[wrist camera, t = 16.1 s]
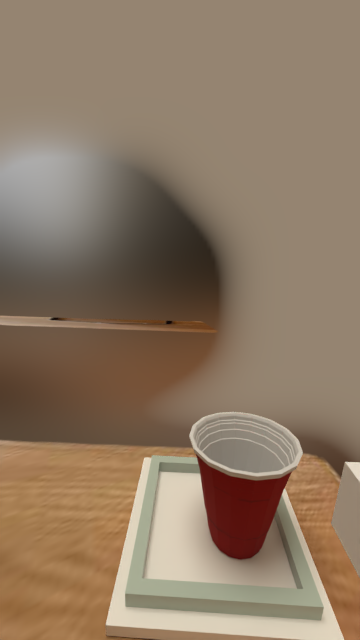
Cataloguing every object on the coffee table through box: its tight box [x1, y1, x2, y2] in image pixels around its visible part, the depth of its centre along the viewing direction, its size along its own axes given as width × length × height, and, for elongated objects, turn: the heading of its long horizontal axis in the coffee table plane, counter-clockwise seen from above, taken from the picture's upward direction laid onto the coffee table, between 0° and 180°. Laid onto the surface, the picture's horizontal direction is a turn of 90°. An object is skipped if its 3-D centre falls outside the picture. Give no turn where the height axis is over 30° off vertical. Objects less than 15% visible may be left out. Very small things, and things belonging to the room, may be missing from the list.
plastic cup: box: [189, 412, 303, 560], centre depth 29 cm, size 11×11×12 cm
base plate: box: [106, 455, 344, 640], centre depth 31 cm, size 19×19×3 cm
